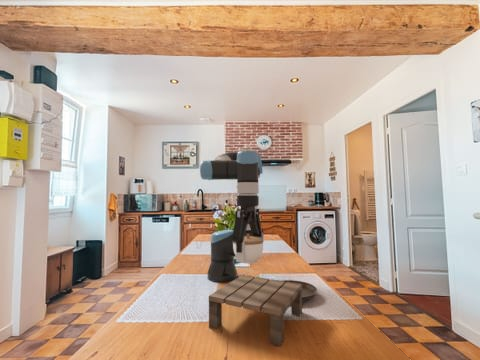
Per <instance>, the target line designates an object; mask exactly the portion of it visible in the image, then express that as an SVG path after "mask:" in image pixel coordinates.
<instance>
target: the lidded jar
mask: <svg viewBox="0 0 480 360" xmlns="http://www.w3.org/2000/svg"><path fill="white" fill-rule="evenodd" d="M243 242H245V262H244V263H243V264H255V263H257V262H258V260H260V258H261V257H262V254H263V251H264V250H263V249H264V237H263V238H260V237H253V236H249V234H247V236H244V240H243ZM233 250H234V254H235V256H234V257H236V242H233Z"/></svg>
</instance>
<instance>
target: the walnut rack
mask: <svg viewBox="0 0 480 360" xmlns="http://www.w3.org/2000/svg"><path fill="white" fill-rule="evenodd" d="M224 304H225V305H228V306H232V307H237V308H243V309H244V310H245V309H246V310H250V311H255V312H259V313H260V312H261V313H265V314H269V330H270V331H269V339H270V340H269V342H270V343H269V344H270V345H272V346H275V347H281V346H282V345H283V343H284V342H285V339H284V338H285V337H284V334H285V333H284V314H285V313H286V312H287V311H288V309H289V308H290V306H291V309H290V311H291V315H294V314H297V315H296V316H299V315H300V314H302V313H303V302H302V284H298V283H292V282H286V283H285V281H284V280H279V279H272V278H271V279H270V278H264V277H258V276H256V277H255V276H251V275H247V274H246V275H245V274H241V275H240V276H237V278H236V279H235V280H232V281H229V282H228V283H226V284H225V285H224V286H222V287H221V288H219V289H218V290H216V291H214V292H213V293H211V294H209V295H208V328H210V329H214V330H218V329H219V328H220V327H222V325H223V318H222V317H223V313H222V309H223V308H222V307H223V306H222V305H224ZM300 316H301V315H300Z"/></svg>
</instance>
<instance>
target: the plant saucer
mask: <svg viewBox="0 0 480 360" xmlns="http://www.w3.org/2000/svg"><path fill="white" fill-rule="evenodd" d="M283 281H285V283H286V282H292V283H298V284H302V303H305V302H308V301H310V300H311V299H312V298H314V296H315V295H316V294H317V291H318V288H317V287H316V286H315V285H313V284H311V283H309V282H307V281H306V282H305V281H300V280H291V279H289V280H283Z"/></svg>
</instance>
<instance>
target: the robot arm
mask: <svg viewBox="0 0 480 360" xmlns="http://www.w3.org/2000/svg"><path fill="white" fill-rule="evenodd" d="M262 163H263V162H262V157H261V154H260V153H259V152H257V151H256V150H240V151H238V152H237V151H231V152H225V153H222V154H220V155H218V156H216V157H215V158H214V159H213V160H209V159H208V160H202V161H201V162H200V164H199V172H200V173H199V174H200V178H201V180H206V181H207V180H208V181H215V180H217V181H218V180H219V181H221V180H232V181H233V180H236V182H237V184H236V190H237V191H236V192H237V194H238V195H237V197H236V201H237V203H236V204H237V206H238V207H240V210H235V215H234V216H235V219H234V226H233V229H223V230H218V231H215V232H213V233H211V235H210V264H209V267H208V271H207V279H208V280H209V281H212V282H217V283H218V282H220V283H224V282H232V281H233V280H235V279H237V278H238V270H237V268H236V264H235V261H236V263H242V264H245V263H244V262H245V242H243V240H244V236H247V234H249V236H253V237H260V238H263V239H264V233H263V232H262V226H261V225H262V224H261V219H260V209H259V208H258V207H259V201H260V200H259V195H258V194H259V178H260V177H261V175H262V174H263V172H264V171H263V164H262ZM233 242H236V256H235V254H234V250H233ZM234 257H235V258H234ZM235 259H236V260H235Z"/></svg>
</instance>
